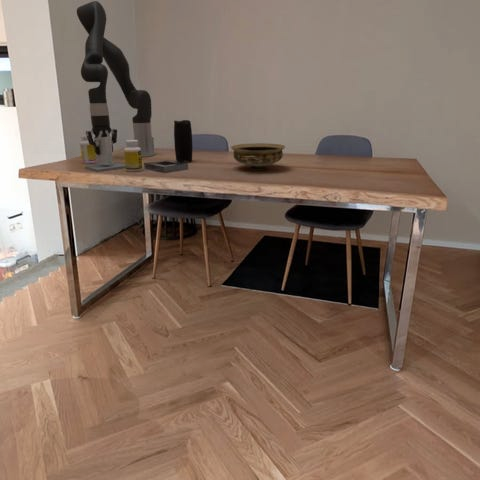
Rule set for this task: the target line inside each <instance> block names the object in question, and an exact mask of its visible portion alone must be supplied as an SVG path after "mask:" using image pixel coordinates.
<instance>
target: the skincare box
mask: <svg viewBox="0 0 480 480" xmlns="http://www.w3.org/2000/svg"><path fill="white" fill-rule="evenodd" d="M94 137H95V136H94ZM95 138H96V139H97V137H95ZM111 140H112V136H110V137H101V139H100V141H99V145H98V146H99V150H100V155H97V154H96V158H97V162H96V163H97V165H98V164H100V165H110V164H114V163H115V161H114V155H113V154H114V151H113V152H112V143H111Z"/></svg>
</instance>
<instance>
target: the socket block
mask: <svg viewBox="0 0 480 480" xmlns="http://www.w3.org/2000/svg"><path fill="white" fill-rule="evenodd" d="M143 166H144V167H143V169H145V170H149V171H153V172H158V173H162V174H166V173H172V172H179V171H186V170H189V163H188V162H187V163H186V162H184V161H183V162H177V160H171V159H164V160H163V159H162V160H157V161H156V160H155V161H149V162H144V163H143Z"/></svg>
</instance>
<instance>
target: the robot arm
mask: <svg viewBox="0 0 480 480" xmlns="http://www.w3.org/2000/svg"><path fill="white" fill-rule="evenodd" d="M76 15H77V18H78V20H79V23H80V24H81V25H82V26H83V28H84V30H85V31H86V33H87V34H88V36H87V38H86V41H85V46H84V50H85V51H84V52H85V53H84V59H83V61H82V65H81V68H80V76H81V78H82V79H83V81H84V82H87V83H99V85H98V86H97V87H93V88H89V89H88V99H89V113H90V120H91V128H92V129H91V130H86V131H85V135H87V138H88V141H89V144H90V145H93V146H94V149H95V153H96V154H97V155H100V150H99V146H98V145H99V141H100V139H101V137H111V143H112V152H113V153H114V144H116V143H117V141H118V139H117V138H118V130H117V129H115V128H111V121H110V114H109V113H110V112H109V107H108V102H107V82H108V77H109V72H108V68H109V70H110V71H111V73H112V75H113V77H114V78H115V80H116V82H117V83H118V86H119V87H120V90H121V91H122V93H123V95H124V98H125V100H126V102H127V104H128V105H129V107H131V108H132V109H135V110H136V111H137V112H136V114H135V115H134V116H133V117H132V129H133V138H134V139H133V140H138V147H140V148H141V155H142V158H144V157H147V158H148V157H153V156H155V154H156V153H155V142H154V139H155V138H154V137H153V136H152V124H151V123H152V121H151V119H152V97H151V95H150V93H149V91H147V90H144V89H137V88H136V87H135V86H134V84H133V81H132V79H131V76H130V74H131V73H130V65H129V62H128V60H127V58H126V56H125V55H124V53H123V50H121V48H119V47H118V46H117V45H116V44H114V43H113V42H112V41H110V40H108V39H107V38H106V37H104V36H105V32H106V26H107V15H106V10H105V9H104V7H103V5H102V3H100V1H98V0H93V1H91V2H90V1H89V2H88V3H85V4H83V5H80V6H79V7H77V8H76ZM103 61H104V62H105V64H106V65H107V66H108V68H107V66H106V65H105V64H103ZM110 134H111V135H110ZM93 135H94V137H93ZM95 137H97V139H96V138H95ZM97 155H96V156H97Z"/></svg>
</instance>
